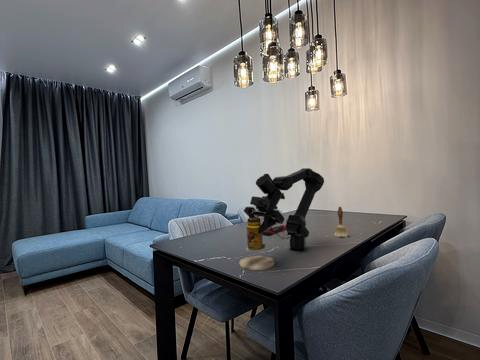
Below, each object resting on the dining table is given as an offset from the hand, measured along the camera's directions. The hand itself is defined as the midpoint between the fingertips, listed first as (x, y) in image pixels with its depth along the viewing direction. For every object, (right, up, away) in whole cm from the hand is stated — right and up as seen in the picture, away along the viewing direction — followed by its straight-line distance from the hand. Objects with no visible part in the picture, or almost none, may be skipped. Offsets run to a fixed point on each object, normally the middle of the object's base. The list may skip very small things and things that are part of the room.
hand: (253, 231), depth 106 cm
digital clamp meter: (+21, -11, +48) cm, 53 cm away
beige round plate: (+2, -13, +1) cm, 13 cm away
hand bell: (+49, -10, +38) cm, 63 cm away
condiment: (+1, -7, +2) cm, 7 cm away
